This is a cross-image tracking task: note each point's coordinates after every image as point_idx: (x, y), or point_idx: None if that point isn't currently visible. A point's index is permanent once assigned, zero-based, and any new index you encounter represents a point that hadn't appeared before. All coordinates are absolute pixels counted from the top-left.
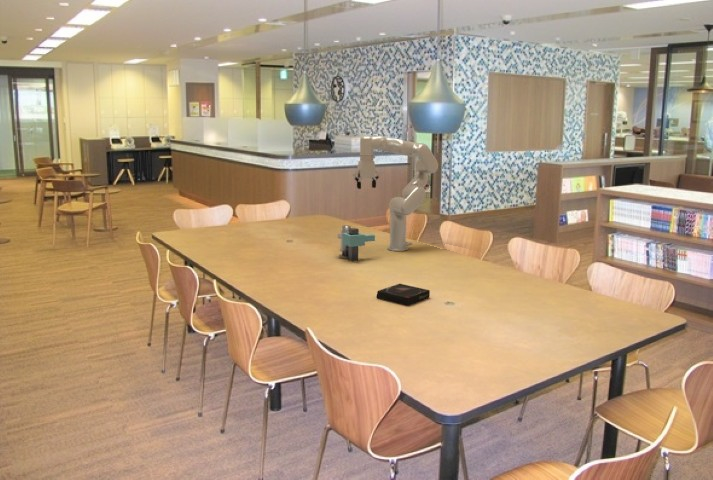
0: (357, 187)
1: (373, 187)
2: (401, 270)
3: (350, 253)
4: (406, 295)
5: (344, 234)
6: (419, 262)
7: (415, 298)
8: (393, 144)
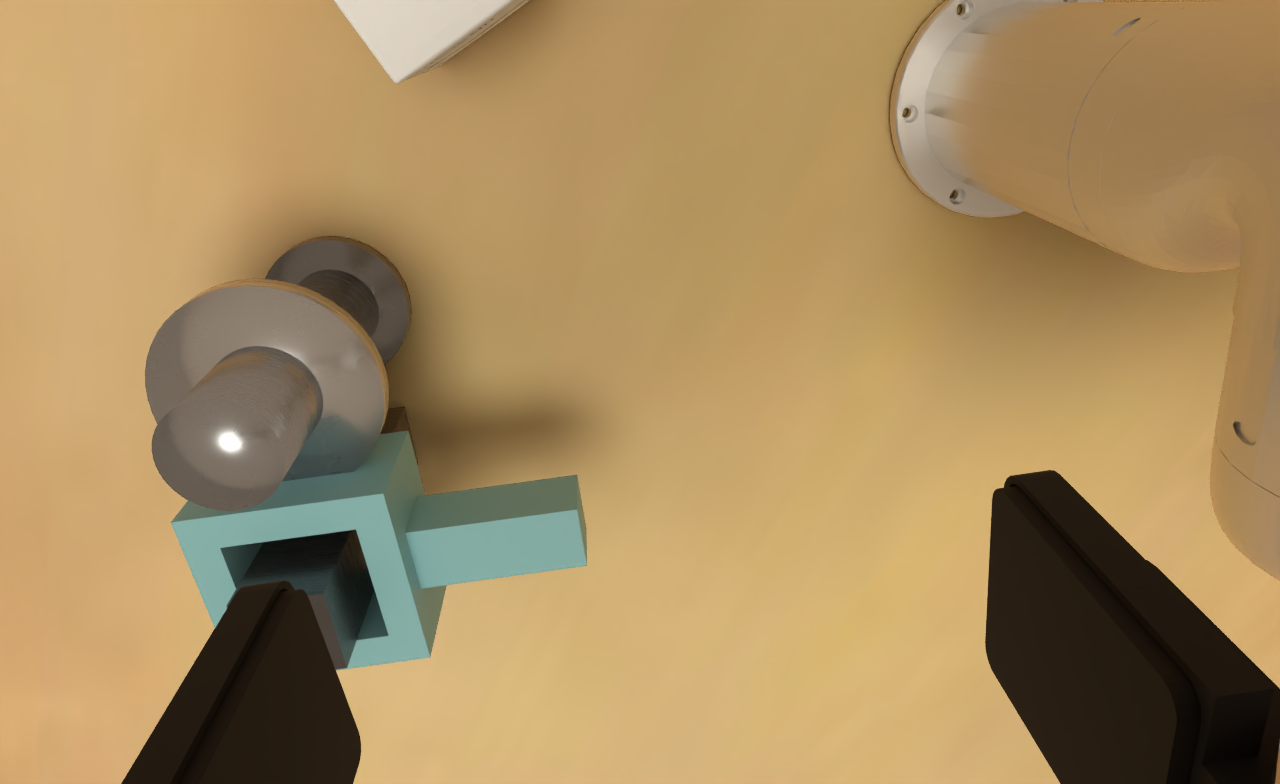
0: (235, 616)
1: (991, 597)
2: (640, 765)
3: None
4: None
5: (194, 567)
6: (879, 615)
7: None
8: None
